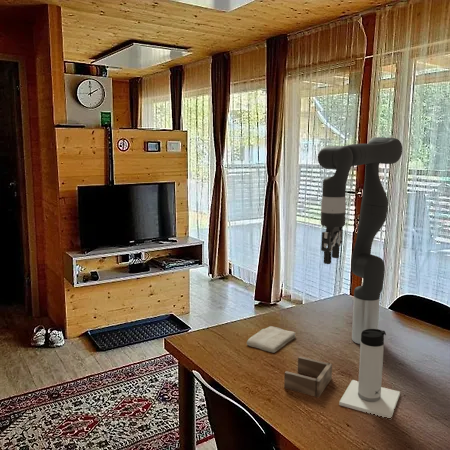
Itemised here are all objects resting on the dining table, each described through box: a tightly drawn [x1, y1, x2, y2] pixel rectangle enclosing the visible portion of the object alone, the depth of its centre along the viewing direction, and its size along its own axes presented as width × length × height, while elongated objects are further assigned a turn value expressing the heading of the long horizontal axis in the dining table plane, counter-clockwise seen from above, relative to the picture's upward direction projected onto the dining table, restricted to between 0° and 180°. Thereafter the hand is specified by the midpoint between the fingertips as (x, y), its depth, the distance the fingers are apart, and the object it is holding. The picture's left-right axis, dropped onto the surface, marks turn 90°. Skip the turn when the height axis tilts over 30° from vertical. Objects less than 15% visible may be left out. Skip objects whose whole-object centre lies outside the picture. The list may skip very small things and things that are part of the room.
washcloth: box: [246, 325, 296, 354], centre depth 171 cm, size 12×18×3 cm, turn 145°
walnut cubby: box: [283, 355, 333, 398], centre depth 140 cm, size 12×11×5 cm
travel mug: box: [358, 328, 387, 402], centre depth 129 cm, size 6×7×20 cm
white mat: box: [338, 379, 401, 419], centre depth 131 cm, size 14×14×1 cm
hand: (331, 260), depth 145 cm, fingers open, 8 cm apart
